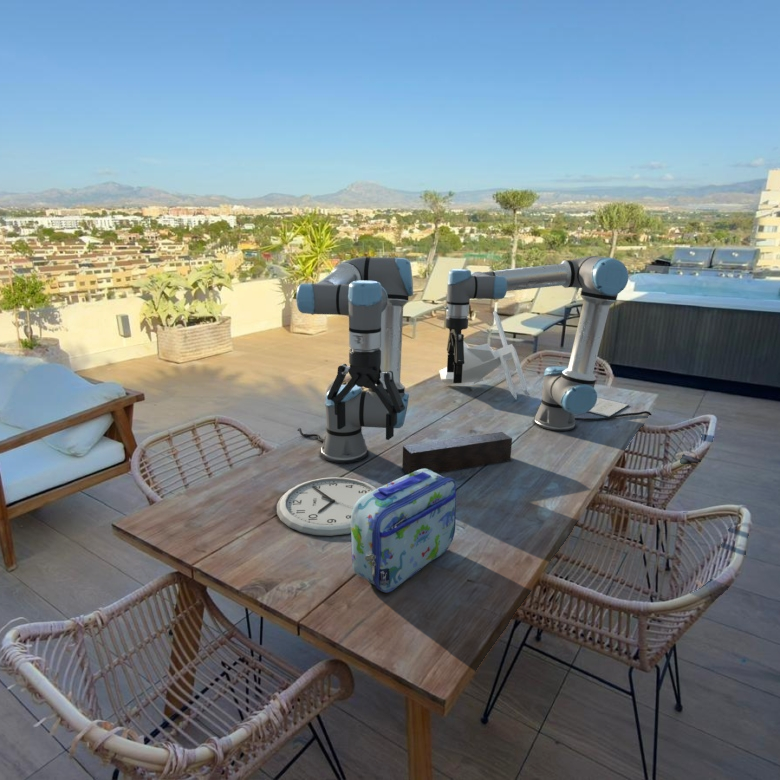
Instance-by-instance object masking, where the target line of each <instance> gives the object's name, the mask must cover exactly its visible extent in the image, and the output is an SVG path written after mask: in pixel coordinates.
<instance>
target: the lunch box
mask: <svg viewBox="0 0 780 780" xmlns="http://www.w3.org/2000/svg"><path fill="white" fill-rule="evenodd" d="M456 517H457V485H456V481H455V479H453V478H452V477H449V476H447V477H445V476H442V475H440V474H439V473H435V472H433V471H431V470H429V469H420V470H417V471H414V472H412V473H410V474H405V475H403V476H401V477H399V478H397V479H394V480H393V481H390V482H388V483H387V484H383V485H382V486H380V487H377V489H376V490H374V491H372V492H370V493H367V494H365V495H364V496H362V497H361V498H360V499H359V500H358V501H357V502H356V504H355V505H354V507H353V510H352V514H351V533H350V538H351V539H350V540H351V564H352V570H353V572H354V574H355V575H356V576H358V577H359V578H362V579H364V580H366V581H368V582H369V583H370V584H372V585H374V586H375V587H376V589H377V590H379V591H381V592H383V593H391V592H392V591H394V590H395V589H397V588H398V587H400V586H401V584H403V583H404V582H406V581H407V580H408V579H410V578H411V577H412V576H414V575H415V574H417V573H418V572H419V571H421V570H423V568H425V566H426V565H428V564H429V563H431V562H432V561H434V560H435V559H437V558H440V556H442V555H443V554H445V553H446V552H447V550H448V549H449V548H450V546H451V545H452V542H453V540H454V537H455V532H456V522H457V521H456V519H457V518H456Z"/></svg>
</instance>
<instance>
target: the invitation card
mask: <svg viewBox="0 0 780 780" xmlns="http://www.w3.org/2000/svg"><path fill="white" fill-rule="evenodd" d="M628 406H629V404H627V403H623V402H618V401H614V400H609V399H605V398H601V397H597V401H596V404H595V405H594V407H593V408H592V409H591V410H589V411H588V412H587V413H593V414H596V415H600V416H604V417H611V416H614V414H616V413H617V412H619V411H621V410H623V409H624V408H626V407H628Z"/></svg>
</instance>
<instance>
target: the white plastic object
mask: <svg viewBox="0 0 780 780" xmlns="http://www.w3.org/2000/svg"><path fill="white" fill-rule="evenodd" d="M492 315H493V319H494V321H495V324H496V325H495V326H496V328H497V332H498V335H499V338H500V342H501V345H502V347H500V348H498V349H496V350H495V349H493V348H492V347H491V346H490V344H489V343H488V342H487V343H483V344H479V345H473V346H469V345H468V343H466V342H465V341H464V364H463V367H462V383H461V384H467V383H468V384H469V383H473V384H477V383H480V382H482V381H484V378H485V377H486V376H487V375H489V374H490V373H492V372H494V371H495V370H496V369H497V368H499V367H500V366H502V370H503V373H504V376H505V380H506V383H507V386H508V390H509V393H510V394H511V395H512V397H513V398H514V399H515V400H517V392H516V391H517V390H516V388H515V385H514V381H513V378H512V375H511V371H510V369H509V365H508V361H510V360H513V363H514V366H515V369H516V372H517V376H518V380H519V382H520V385H521V389H522V391H523V393H524V395H525V396H526V397H528V396H531V395H530V390H529V388H528V387H529V386H528V384H527V381H526V378H525V375H524V371H523V369H522V368H523V367H522V366H521V362H520V359H519V355H518V352H517V349H516V347H515V346H514V345H513V343H511V344H508V341H507V337H506V334H505V331H504V328H503V325H502V321H501V318H500V315H499V314H498V312H497V311H496V310H495V311H492ZM438 372H439V376H440V381H442V383H443V384H444V385H445V386H449V385H458V384H460V383H453V377H454V372H447V366H446V367H444V368H442V369H440V370H439V371H438Z"/></svg>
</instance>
